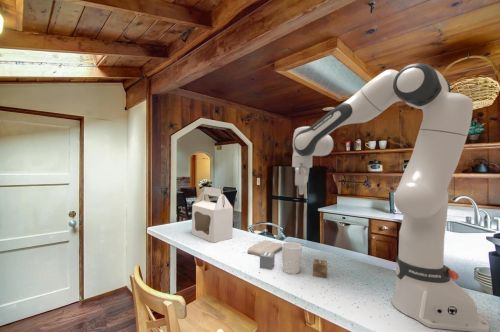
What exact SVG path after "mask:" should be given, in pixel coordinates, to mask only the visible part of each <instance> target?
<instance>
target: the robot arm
mask: <svg viewBox="0 0 500 332" xmlns="http://www.w3.org/2000/svg"><path fill="white" fill-rule="evenodd" d="M397 102H405V104H406V105H408V106H409V107H412V108H415V109H417V110H419V111H422V114H423V115H422V121H421V123H420V127H419V131H418V133H417V137H416V139H415V144H414V147H413V150H412V154H411V156H410V159H409V161H408V163H407V165H406V167H405V170H404V172H403V173H402V177H401V178H400V181H399V184H398V186H397V188H396V190H395V192H394V194H393V204H394V207H396V209H397V210H398V212H400V213H401V214H403V215H402V216H403V217H402V221H401V225H400V228H399V231H398V255H397V257H396V263H395V268H396V269H395V273H396V280H395V281H396V282H395V285H394V286H395V287H394V290H393V294H392V297H391V299H390V301H391V304H392V306H393V307H395V309H396V310H398V311H400V313H402V314H404V315H406V316H408V317H410V318H413V319H415V320H417V321H418V322H420V323H421V324H422V325H425V326H426V327H428V328H432V329H443V330H451V331H463V332H464V331H465V332H490V324H489V323H488V321H487V320H486V319H485V317H484V316H483V315H481V313H479V311H478V308H477V305H476V302H475V301H474V298H472V297H471V295H470V294H469V293H467V291H466V290H464V289H463V288H462V287H461V286H459V285H458V284H457V283H456V282H455V281H458V279H460V275H459V274H458V273H457V272H456V271H455V270H453V269H451V268H450V267H449V266H447V265H445V264H444V258H445V257H444V252H445V250H444V249H445V235H446V227H447V221H448V220H447V219H448V208H449V207H448V206H449V193H448V188H449V185H450V183H451V180H452V178H453V176H454V173H455V171H456V169H457V167H458V164H459V162H460V160H461V159H460V158H461V156H462V153H463V151H464V147H465V144H466V141H467V138H468V135H469V133H470V132H469V131H470V127H471V123H472V118H473V113H474V111H473V110H474V102H473V100H472V99H471V97H469V96H467V95H465V94H463V93H459V92H451V85H450V83H449V82H448V80H446V79H445V77H444V75H443V74H442V73H440V71H438V70H436V69H435V68H433V66H431V65H429V64H426V63H418V62H417V63H412V64H409V65H406V66H404V67H403V68H402V69H400V70H399V71H398V70H396V69H386V70H384V71H382V72H381V73H379V74H377V76H375V77H373V78H372V79H371V80H370V81H368V82H367V83H366V84H364V85H363V86H362V87H361V88H360V89H359V90H358V91H357V92H355V93H354V94H353V95H352V96H351V97H350V98H347V100H345V101H343V102H342V103H341V104H339V105H338V106H336V107H334V108H333V109H331V110H330V111H329V112H327V113H326V114H325V115H323V116H322V117H321V118H320V119H318V120H317V121H316V122H315V123H313V124H312V125H311V126H309V125H307V126H300V127H296V129H294V132H293V135H292V136H293V137H292V150H293V152H292V160H291V162H292V163H291V166H292V167H291V168H294V171H295V173H294V186H298V195H300V196H302V195H304V193H305V185H306V184H307V183H308V181H309V174H310V168H313V156H314V157H324V156H328V155H330V153H332V151H333V149H334V145H335V144H334V143H335V142H334V140H333V138H332V136H331V135H330V134H331V133H333V132H334V131H335V130H336V129H338V128H341V127H343V126H346V125H352V124H364V123H367V122H370V121H371V120H373V119H374V118H376V117H378V116H379V115H380V114H382V113H383V112H384V111H386V110H387V109H388V108H389V107H390V106H392V105H393V104H395V103H397Z"/></svg>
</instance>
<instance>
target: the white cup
mask: <svg viewBox="0 0 500 332" xmlns="http://www.w3.org/2000/svg"><path fill="white" fill-rule="evenodd" d="M281 244H282V250H281V254H282V255H281V257H282V261H281V262H282V270H283V272H285V273H287V274H291V275H292V274H293V275H294V274H299V273H300V272H301V264H302V253H303V252H302V251H303V246H302V244H300V243H297V242H292V241H291V242H290V241H288V242H287V241H285V242H283V243H281Z"/></svg>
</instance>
